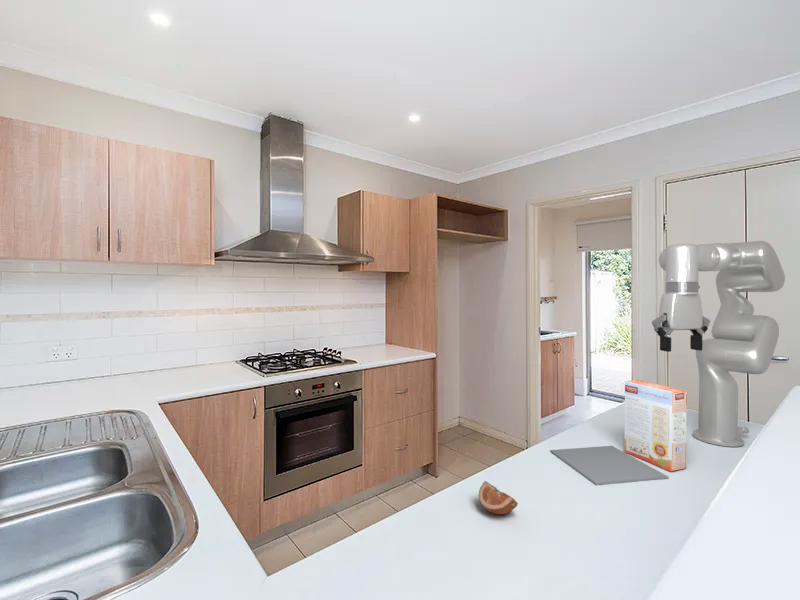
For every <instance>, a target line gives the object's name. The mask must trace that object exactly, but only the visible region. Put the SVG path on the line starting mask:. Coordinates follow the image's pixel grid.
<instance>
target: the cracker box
mask: <svg viewBox="0 0 800 600" xmlns="http://www.w3.org/2000/svg"><path fill="white" fill-rule="evenodd" d="M687 394H688V393H687V390H686V389H683V388H677V387H672V386H668V385H663V384H659V383H655V382H649V381H645V380H641V379H633V380H625V381H624V430H623V431H624V432H623V433H624V434H623V435H624V437H623V439H624V440H623V441H624V442H623V445H624V446H623V448H624V449H623V450H624V451H623V452H624V453H626V454H628V455H630V456H632V457H634V458H635V457H636V458H638V459H640V460H643V461H645V462H648V463H650V464H653V465H655V466H656V467H659V468H662V469H664V470H666V471H668V472H671V473H672V472H675V471H676V472H677V471H681V470H685V469H686V468H687V465H686V464H687V405H688V403H687V402H688V401H687V398H688V397H687V396H688V395H687Z"/></svg>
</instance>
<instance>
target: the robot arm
mask: <svg viewBox="0 0 800 600" xmlns="http://www.w3.org/2000/svg"><path fill="white" fill-rule="evenodd" d="M658 263H659V266H660V268H661V269H662V270H663V271H664V273H665V274H664V281H665V282H664V293H663V294H662V296H661V298H660V304H659V311H658V317H656V318H655V319H653V320H652V321H651V324H652V327H653V329H654V331H655V332H656V334H657V336H658V337H659V350H660V351H662V352H667V353H669V352H672V337H670V335H671V334H672V333H673V331H690V333H691V335H690V338H689V339H690V343H689V344H690V345H689V346H690V349H691V350H695V356H696V362H697V367H698V368H697V369H698V428H697V429H694V430H692V433H691V434H692V437H693V438H694V439H696V440H699V441H701V442H703V443H707V444H711V445H715V446H722V447H728V448H729V447H732V448H738V447H739V448H740V447H742V446H744V445H745V441H744V440H745V439H743V438H742V437H740V436H741V435H744V434H749V433H750V429H749V428H748V427H747V426H743V427H742V426H741V427H740V426H739V425H738V424H739V423H738V420H739V418H738V417H739V415H738V414H739V387H738V386H739V385H738V382H737V381H736V379H735V378H734V376H733V375H732V374H731V373H730V372H734V373H742V374H748V375H751V374H752V375H762V374H765V372H767V370H768V369H769V367H770V364H771V363H772V359H773V355H774V352H775V349H776V348H777V344H778V340H779V337H780V328H779V324H778V322H777V320H776V319H774V318H773V317H771V316H768V315H762V314H754V312H755V308H754V304H752V303H751V301H750V300H749V299H748V298H746V297H745V296H744V295H742V294H741V293H772V292H777V291H778V292H779V291H780V290H781V289H782V288H783V287H784V285H785V282H786V277H785V276H786V275H785V272H784V269H783V267H782V265H781V261H780V260H779V257H778V255H777V253H776V250H775V248H773V246H772V245H771V243H769V242H767V241H764V240H754V241H742V242H741V241H740V242H731V243H730V242H728V243H727V242H725V243H724V242H723V243H722V242H719V243H718V242H713V243H703V244H702V243H701V244H694V243H678V244H671V245H668V246H666V248H664V249H663V250H662V251H661V253H660V254H659V257H658ZM699 272H717V274H716V277H715V285H716V290H717V291H716V292H717V295H718V299H719V302H720V307H719V309H718V312H717V314H716V317H715V319H714V321H713V324H712V327H711V331H710V333H711V336H712V337H713V338H705V339H703V337H705V336H706V335H705V334H706V332H707V330H709V328H708V327H709V325H710V323H711V320H710V318H708V317H706V316H704V315H703V308H702V301H701V295H700V293H699V289H700V288H701V287H700V284H699Z"/></svg>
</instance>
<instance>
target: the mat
mask: <svg viewBox="0 0 800 600" xmlns="http://www.w3.org/2000/svg"><path fill="white" fill-rule="evenodd" d="M549 452H550V453H551V454H552V455H553V456H555V457H557V458H558V460H561V461H562V462H564V464H566V465H568V466H569V467H570V468H571V469H572V470H575V471H576V472H577V473H578V474H580V475H581V476H583V477H584V478H585V479H587V481H589V482H591V483H592V484H593V485H594V486H600V485H601V486H602V485H609V484H610V485H613V484H623V483H624V484H625V483H634V482H645V481H656V480H666V479H667V480H668V479H669V476H668V475H666V474H665V473H662V471H661V472H660V471H659V470H657V469H655V468H654V467H652V466H650V465H648V464H646V463H644V462H643V461H640V460H638V459H637V458H635V456H633V455H630V454H628V453H626V452H624V451H623V450H621V449H619V448H617V447H615V446H614V445H604V446H603V445H602V446H592V447H591V446H589V447H575V448H573V447H572V448H564V449H563V448H561V449H550V450H549Z"/></svg>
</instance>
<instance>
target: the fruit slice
mask: <svg viewBox="0 0 800 600" xmlns="http://www.w3.org/2000/svg"><path fill="white" fill-rule="evenodd" d="M478 500H479V502H480V504H481V506H482V507H483V508H484V509H485V510H487V511H488V512H490V513H492V514H496V515H504V514H508V513H510V512H512V511H513V510H514V509H516V508H517V506H518V505H519V504H518V502H517V501H516V499H515V498H513V497H512V496H511V495H509V494H507V493H506V492H503V491H500V490H499V489H498V488H497V486H496V487H495V486H494V485H492V484H491V483H489V482H488V481H485V480H484V481H483V482H482V484H481V486H480V488H479V490H478Z"/></svg>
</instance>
